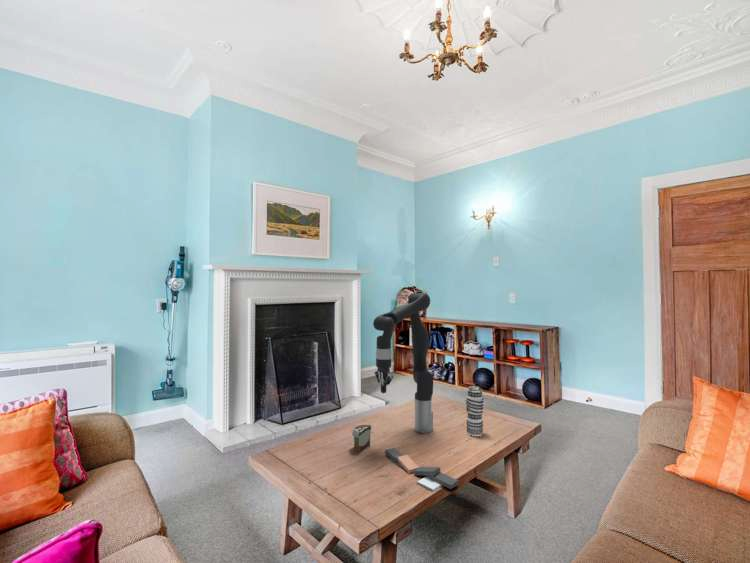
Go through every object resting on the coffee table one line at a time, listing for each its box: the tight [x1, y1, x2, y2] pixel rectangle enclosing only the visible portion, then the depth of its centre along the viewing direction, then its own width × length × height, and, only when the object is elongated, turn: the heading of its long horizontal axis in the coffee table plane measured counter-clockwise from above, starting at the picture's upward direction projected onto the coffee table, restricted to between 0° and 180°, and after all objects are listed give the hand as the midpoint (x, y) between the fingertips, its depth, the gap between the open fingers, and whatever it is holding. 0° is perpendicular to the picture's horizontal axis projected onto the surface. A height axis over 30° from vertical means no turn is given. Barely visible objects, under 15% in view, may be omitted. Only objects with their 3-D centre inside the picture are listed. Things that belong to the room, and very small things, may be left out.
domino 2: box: [388, 456, 404, 469], centre depth 166 cm, size 5×2×10 cm
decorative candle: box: [465, 385, 484, 437], centre depth 199 cm, size 9×9×25 cm
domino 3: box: [397, 454, 420, 474], centre depth 162 cm, size 5×2×10 cm
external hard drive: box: [416, 475, 444, 492], centre depth 150 cm, size 2×8×12 cm
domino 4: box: [413, 466, 441, 477], centre depth 154 cm, size 5×2×10 cm
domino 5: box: [430, 471, 459, 490], centre depth 148 cm, size 5×2×10 cm
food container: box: [351, 424, 372, 454], centre depth 180 cm, size 12×6×10 cm, turn 149°
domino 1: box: [384, 447, 404, 462], centre depth 171 cm, size 5×2×10 cm
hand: (383, 392), depth 181 cm, fingers closed
